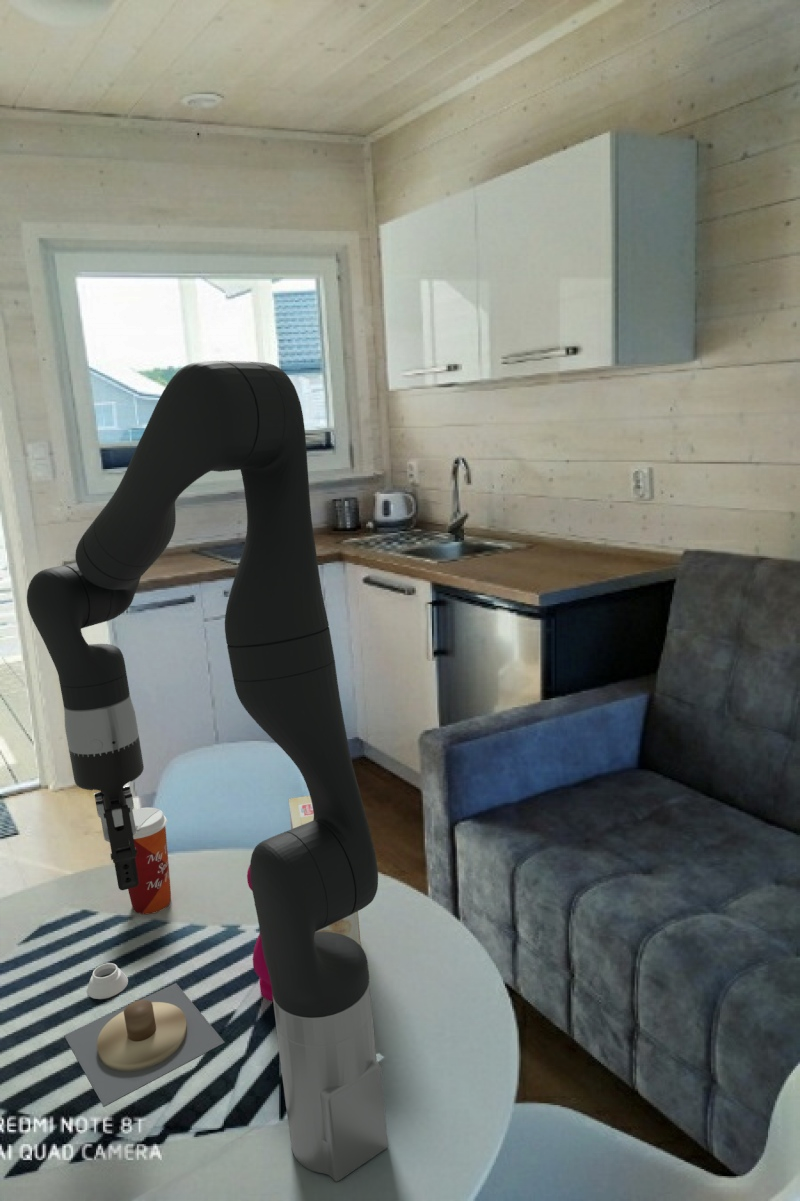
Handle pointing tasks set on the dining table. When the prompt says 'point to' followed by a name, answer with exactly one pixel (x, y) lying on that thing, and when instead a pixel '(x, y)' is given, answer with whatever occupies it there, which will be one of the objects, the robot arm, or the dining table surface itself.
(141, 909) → the paper cup
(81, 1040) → the mat
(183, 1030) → the lid
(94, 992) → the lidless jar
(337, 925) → the coffeecake box
